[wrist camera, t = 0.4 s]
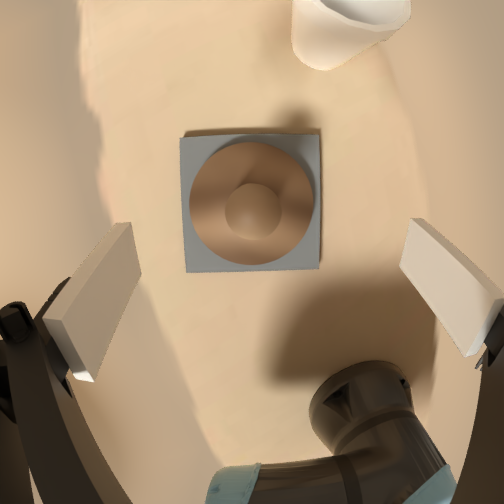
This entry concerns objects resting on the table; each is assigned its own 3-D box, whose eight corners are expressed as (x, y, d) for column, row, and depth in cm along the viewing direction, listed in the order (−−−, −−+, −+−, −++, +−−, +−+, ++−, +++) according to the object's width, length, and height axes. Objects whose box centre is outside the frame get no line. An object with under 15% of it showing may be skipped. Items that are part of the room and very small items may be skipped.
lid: (309, 260, 31) (332, 289, 22) (194, 263, 30) (176, 293, 22) (309, 143, 28) (334, 129, 19) (189, 146, 28) (167, 133, 19)
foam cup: (270, 17, 25) (281, -54, 12) (345, 15, 25) (385, -44, 12) (288, 86, 27) (315, 30, 15) (367, 81, 27) (426, 38, 14)
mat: (316, 266, 32) (318, 268, 31) (188, 270, 32) (186, 272, 31) (316, 136, 29) (319, 134, 28) (181, 139, 28) (179, 137, 27)
